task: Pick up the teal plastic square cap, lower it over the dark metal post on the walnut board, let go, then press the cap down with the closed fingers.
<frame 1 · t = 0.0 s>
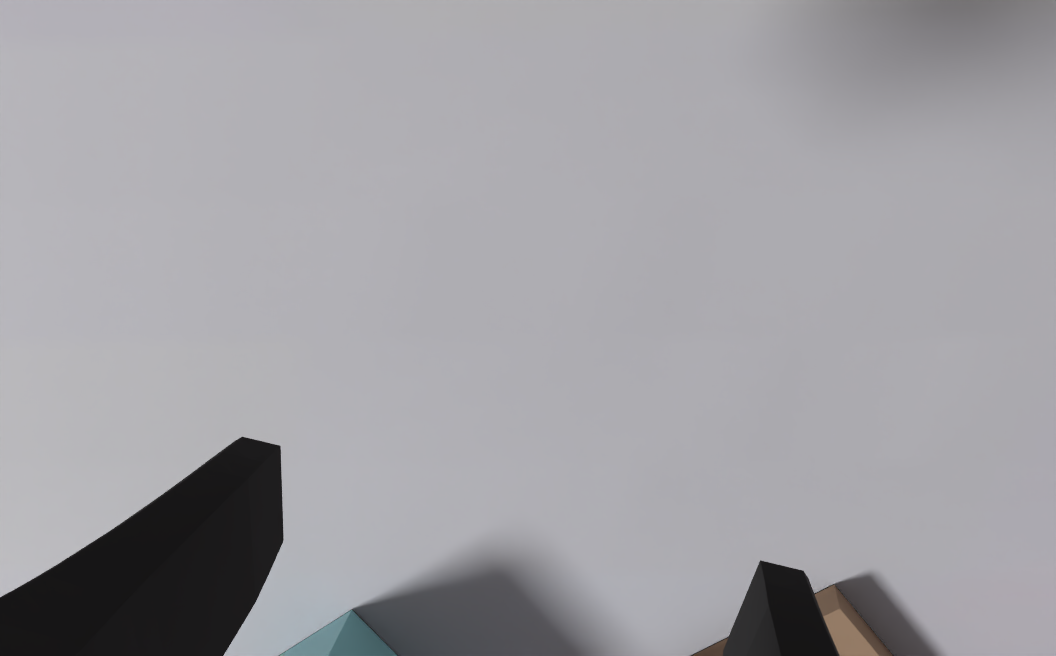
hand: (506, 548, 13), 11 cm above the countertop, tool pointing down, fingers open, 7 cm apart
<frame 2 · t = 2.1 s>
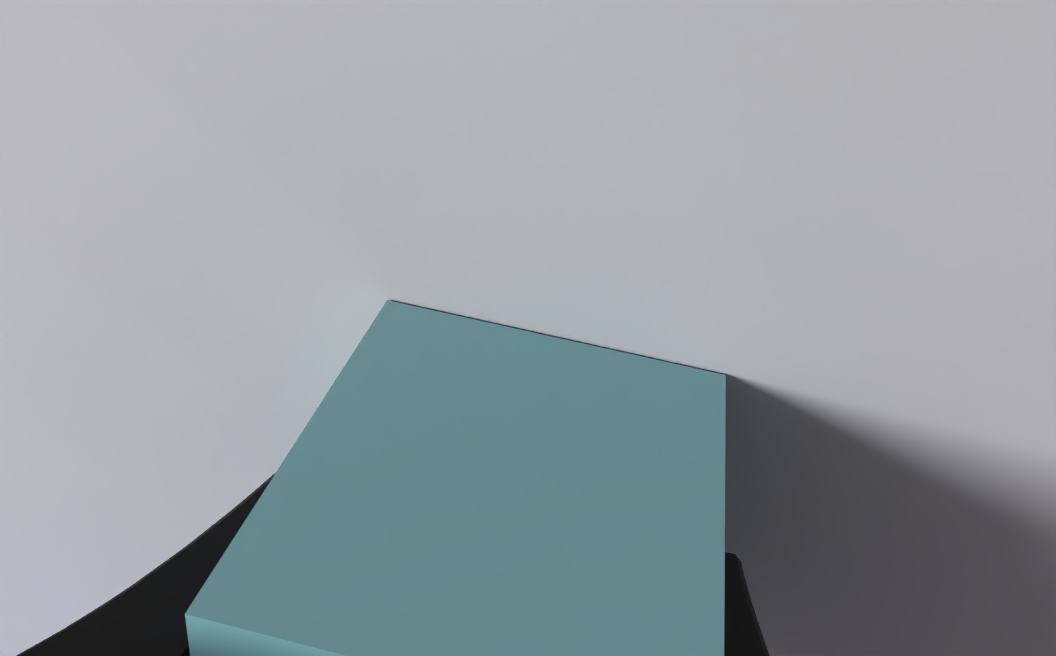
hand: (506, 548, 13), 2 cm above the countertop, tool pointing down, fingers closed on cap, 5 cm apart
cap: (530, 464, 15), on the countertop, touching gripper
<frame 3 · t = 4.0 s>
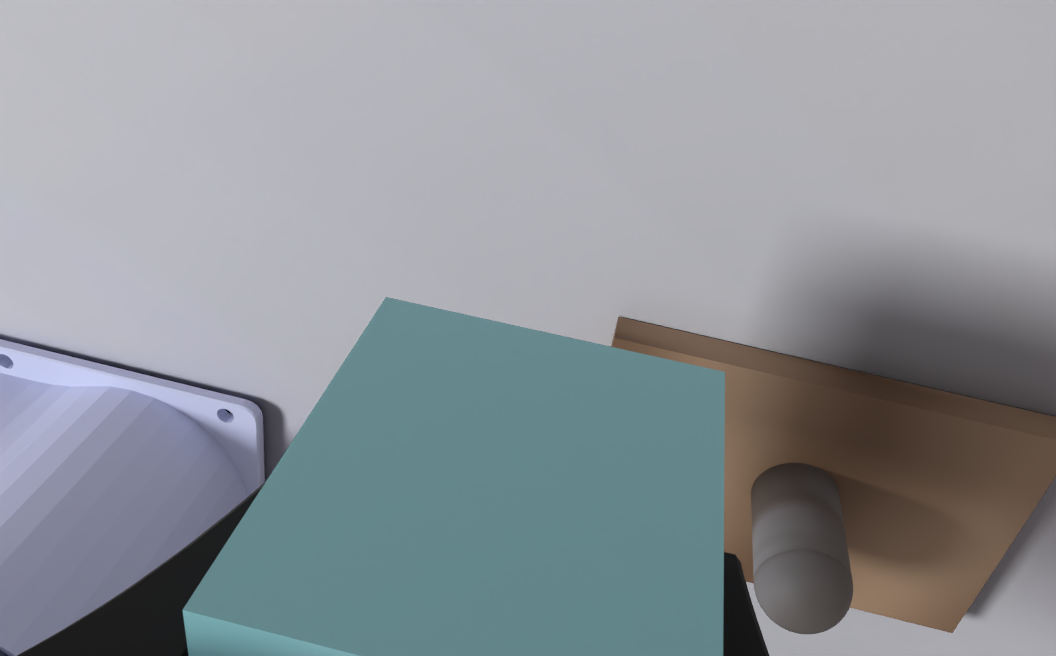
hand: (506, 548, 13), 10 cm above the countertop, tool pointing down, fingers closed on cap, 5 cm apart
cap: (529, 461, 15), point 8 cm above the countertop, touching gripper
post stand: (792, 469, 24), on the countertop
when the fingers open (4 cm above the countertop, at t = 6.2 s): cap drops 1 cm, resting on post stand.
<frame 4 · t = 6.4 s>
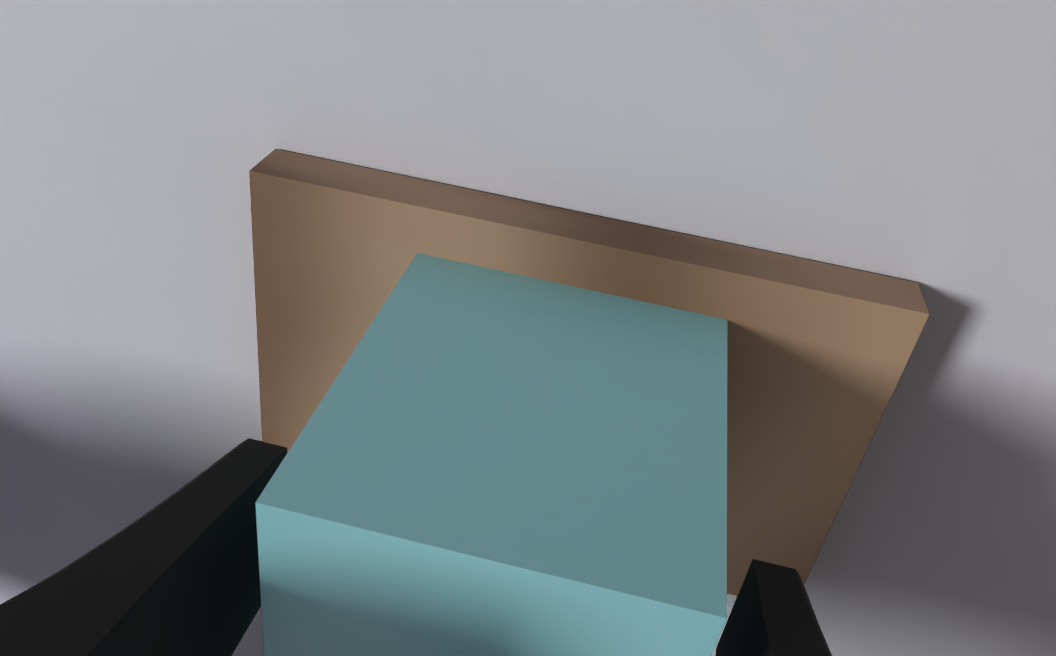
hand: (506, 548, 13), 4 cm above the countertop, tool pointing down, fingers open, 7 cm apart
cap: (546, 408, 16), point 1 cm above the countertop, touching post stand
post stand: (555, 378, 17), on the countertop
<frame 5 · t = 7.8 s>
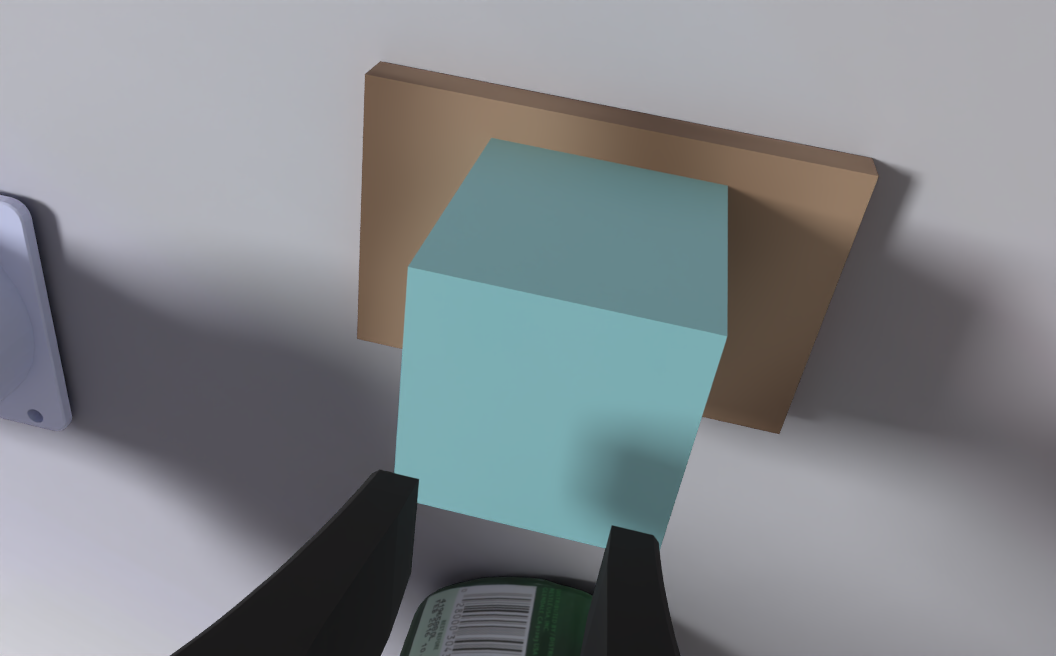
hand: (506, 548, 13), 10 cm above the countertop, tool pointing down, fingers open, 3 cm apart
cap: (587, 265, 20), point 1 cm above the countertop, touching post stand
post stand: (592, 247, 21), on the countertop
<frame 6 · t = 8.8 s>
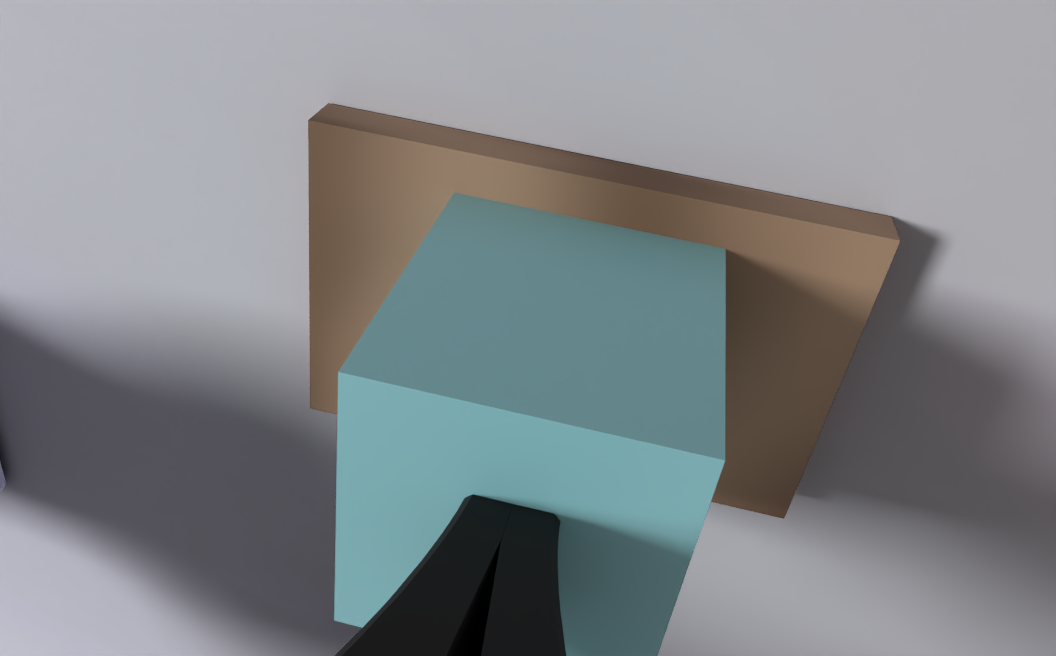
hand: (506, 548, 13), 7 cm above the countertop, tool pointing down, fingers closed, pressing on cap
cap: (566, 333, 18), point 1 cm above the countertop, touching gripper, post stand
post stand: (572, 310, 19), on the countertop
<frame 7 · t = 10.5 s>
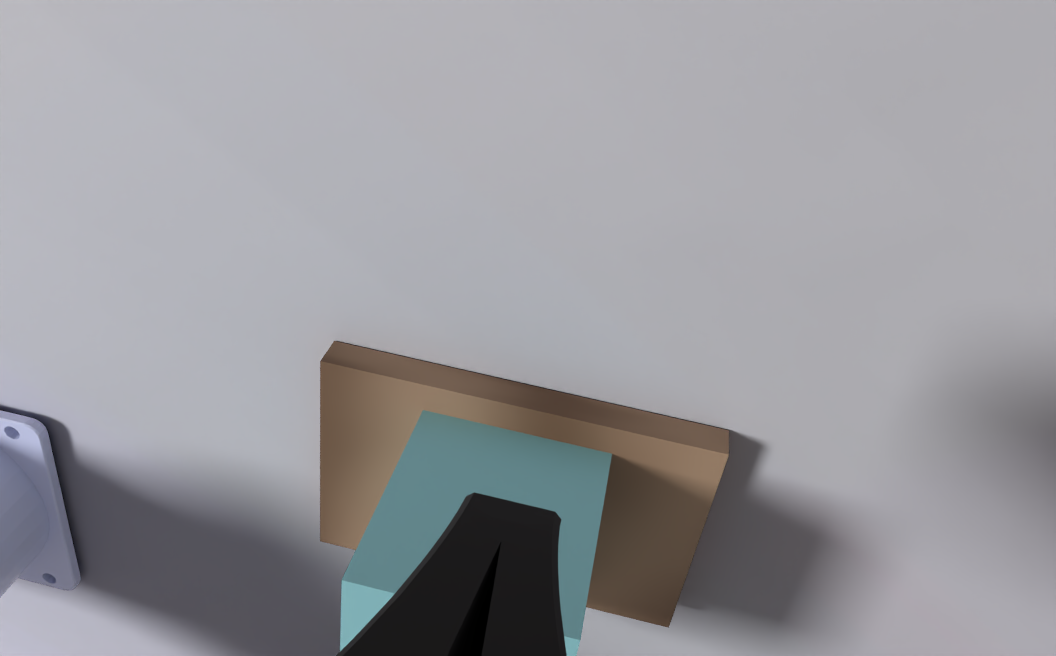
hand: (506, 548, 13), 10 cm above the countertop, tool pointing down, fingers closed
cap: (505, 500, 25), point 1 cm above the countertop, touching post stand
post stand: (511, 478, 26), on the countertop
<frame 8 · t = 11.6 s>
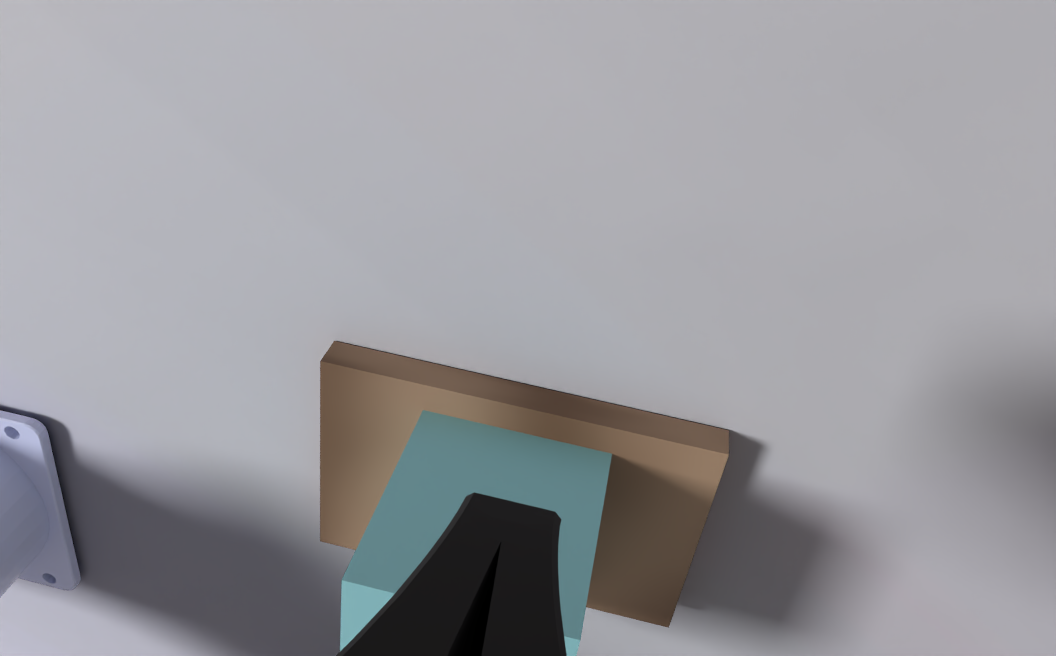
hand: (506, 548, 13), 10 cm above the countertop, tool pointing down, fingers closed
cap: (505, 500, 25), point 1 cm above the countertop, touching post stand
post stand: (511, 478, 26), on the countertop
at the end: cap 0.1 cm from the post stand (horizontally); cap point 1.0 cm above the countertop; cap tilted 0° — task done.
